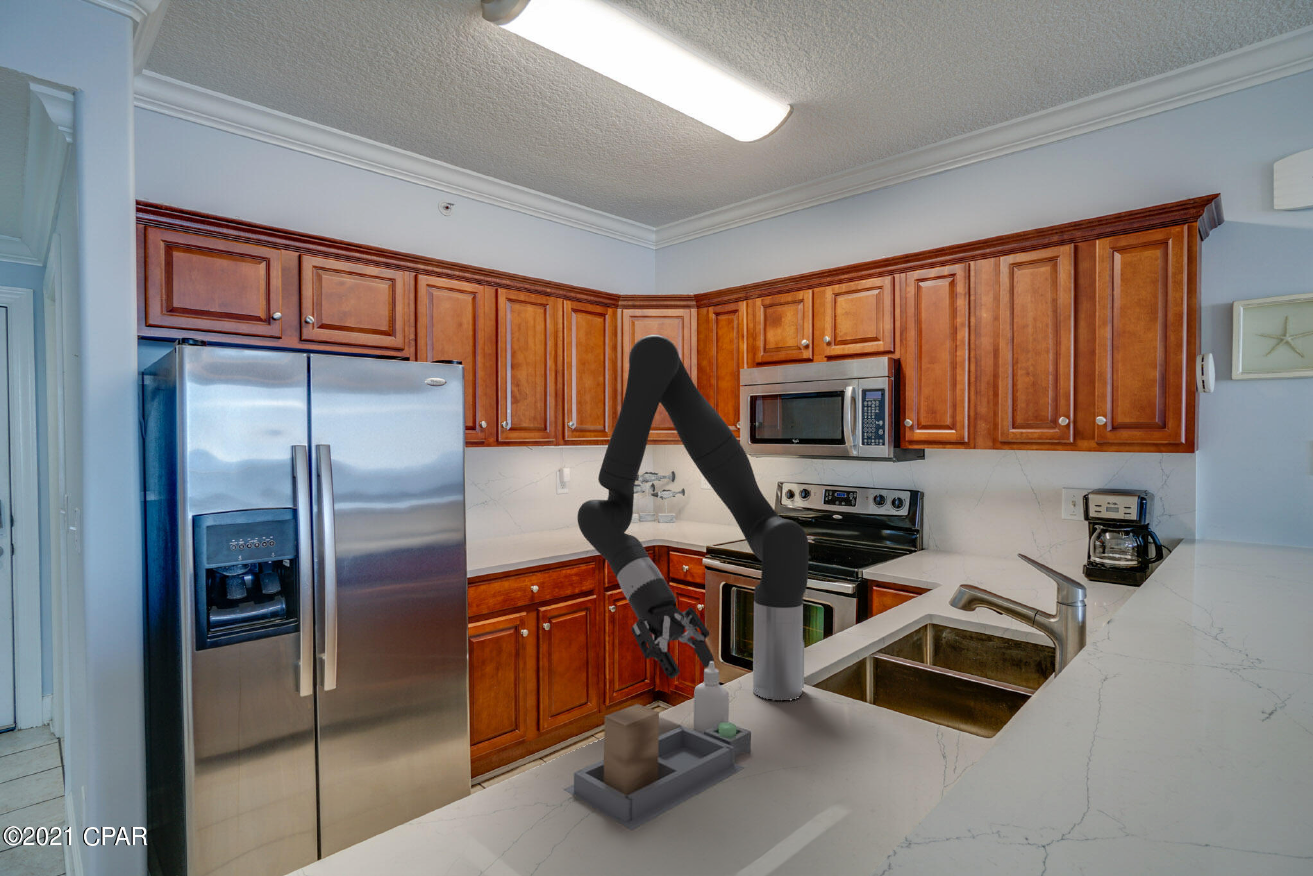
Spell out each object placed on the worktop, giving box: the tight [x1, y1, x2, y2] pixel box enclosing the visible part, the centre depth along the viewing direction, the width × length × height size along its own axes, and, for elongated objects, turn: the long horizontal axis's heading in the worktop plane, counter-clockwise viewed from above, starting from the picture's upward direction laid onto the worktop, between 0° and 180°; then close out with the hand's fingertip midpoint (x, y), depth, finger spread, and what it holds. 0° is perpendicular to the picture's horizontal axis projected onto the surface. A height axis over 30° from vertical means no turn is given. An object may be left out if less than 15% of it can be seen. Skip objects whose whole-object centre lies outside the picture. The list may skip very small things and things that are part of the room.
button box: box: [704, 722, 752, 758], centre depth 100 cm, size 5×5×4 cm
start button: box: [719, 722, 737, 738], centre depth 100 cm, size 3×3×3 cm
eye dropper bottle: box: [693, 661, 730, 735], centre depth 107 cm, size 4×6×12 cm
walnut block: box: [603, 703, 660, 796], centre depth 87 cm, size 6×4×10 cm, turn 136°
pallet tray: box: [563, 725, 745, 831], centre depth 91 cm, size 22×13×4 cm, turn 136°
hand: (693, 670), depth 110 cm, fingers open, 8 cm apart
